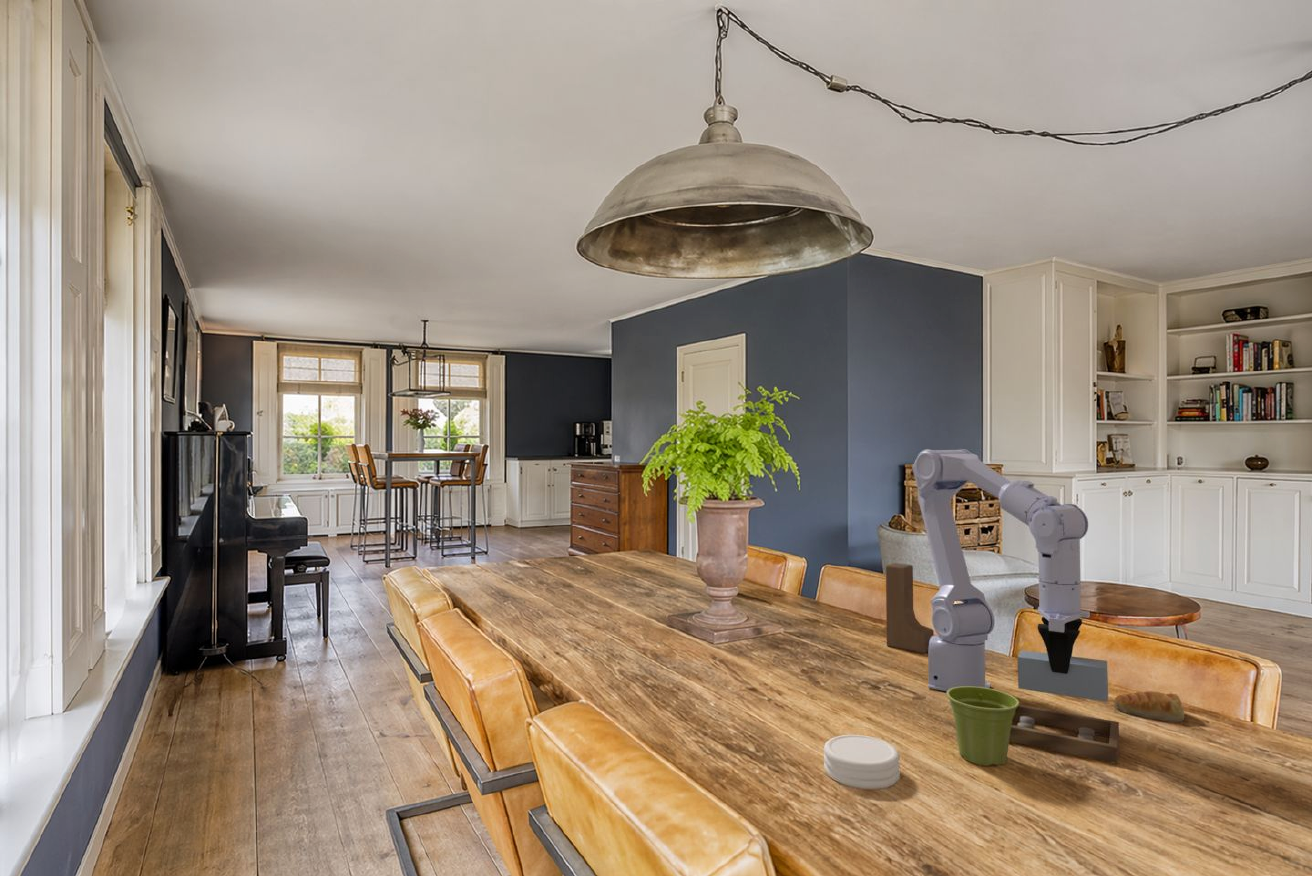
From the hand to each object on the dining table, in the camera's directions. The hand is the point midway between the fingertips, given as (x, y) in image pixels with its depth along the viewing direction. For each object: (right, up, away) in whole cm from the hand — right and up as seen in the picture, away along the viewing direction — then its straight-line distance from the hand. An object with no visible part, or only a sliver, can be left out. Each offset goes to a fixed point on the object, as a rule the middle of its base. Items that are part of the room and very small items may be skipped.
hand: (1060, 668), depth 111 cm
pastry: (+19, -10, +6) cm, 22 cm away
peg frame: (-3, -9, -3) cm, 10 cm away
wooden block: (-8, -10, +44) cm, 46 cm away
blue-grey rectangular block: (0, -4, 0) cm, 4 cm away
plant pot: (-17, -10, -10) cm, 22 cm away
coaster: (-36, -10, -14) cm, 40 cm away
